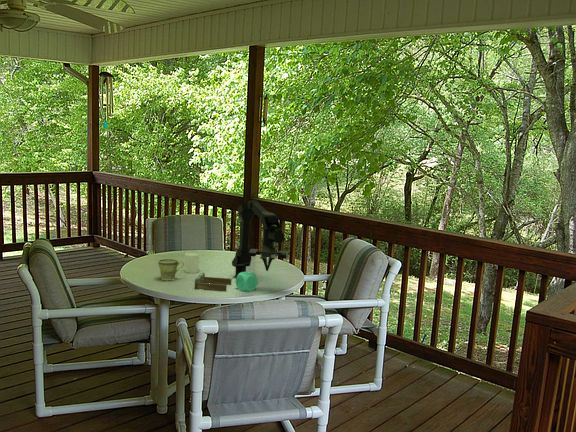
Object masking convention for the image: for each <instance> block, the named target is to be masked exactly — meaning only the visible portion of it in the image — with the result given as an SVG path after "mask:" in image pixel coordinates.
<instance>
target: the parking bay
mask: <svg viewBox="0 0 576 432" xmlns="http://www.w3.org/2000/svg"><path fill="white" fill-rule="evenodd" d="M209 283H210V284H209ZM231 285H232V278H229V277H228V278H225V277H213V276H205V272H201V273H200V274H199V275H197V277H195V279H194V290H199V289H203V290H202V291H212V290H213V291H215V292H227V286H231ZM213 291H212V292H213Z"/></svg>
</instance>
